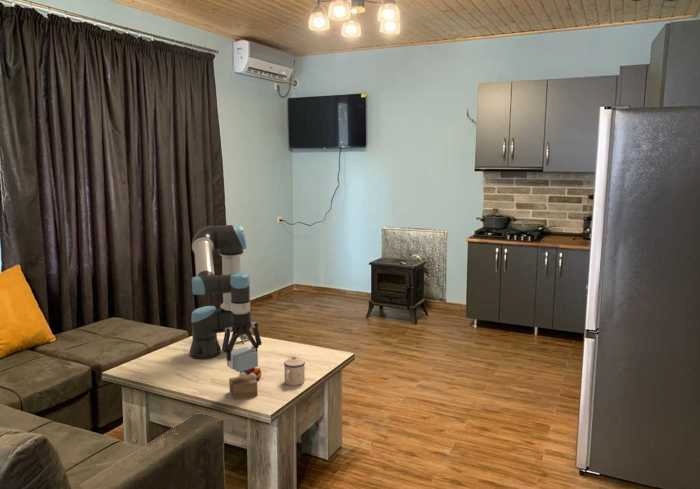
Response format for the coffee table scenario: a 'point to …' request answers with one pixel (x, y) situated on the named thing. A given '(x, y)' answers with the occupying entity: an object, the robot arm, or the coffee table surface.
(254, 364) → the gray brick
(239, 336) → the elephant figurine
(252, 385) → the walnut brick
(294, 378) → the teacup with lid
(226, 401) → the coffee table surface
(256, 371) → the rainbow petal toy
